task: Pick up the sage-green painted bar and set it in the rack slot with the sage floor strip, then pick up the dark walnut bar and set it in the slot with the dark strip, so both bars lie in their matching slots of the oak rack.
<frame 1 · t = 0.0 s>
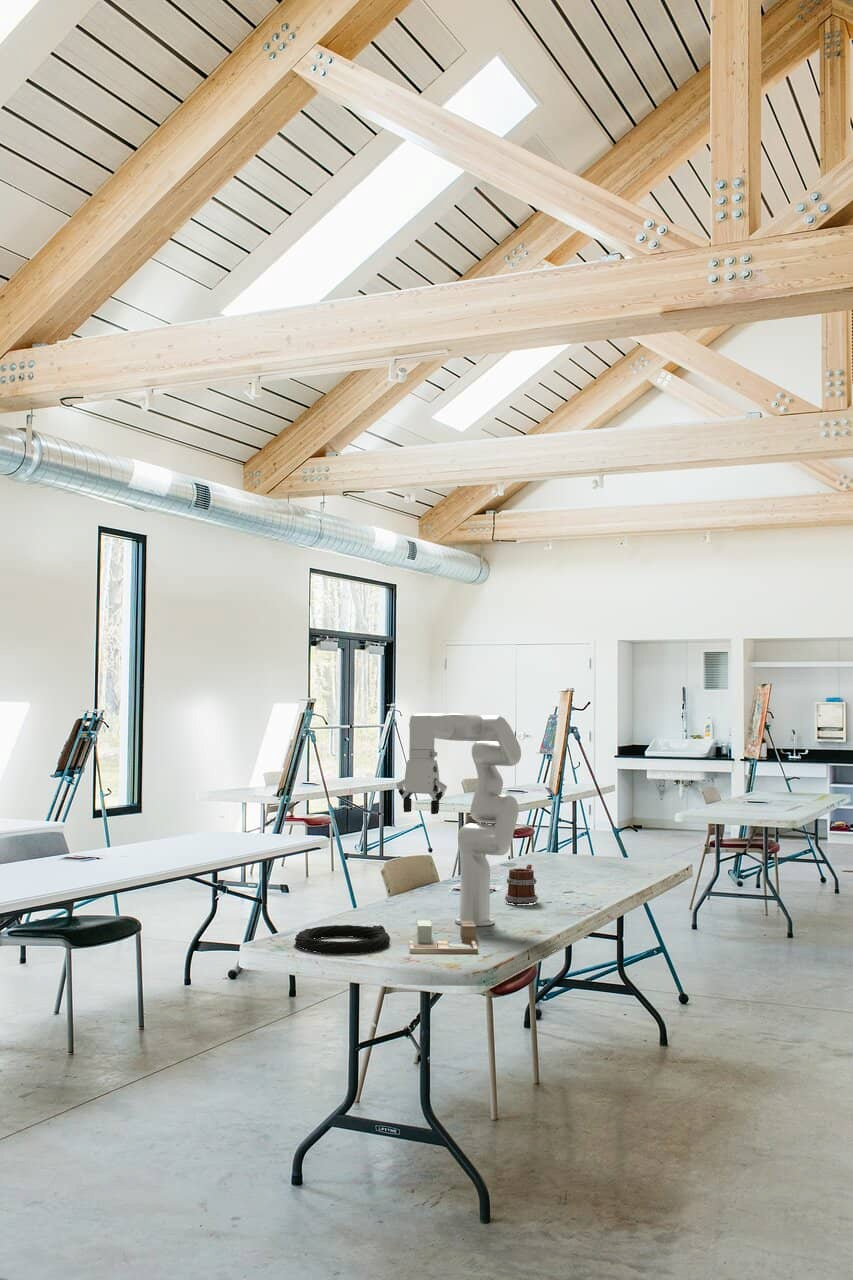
hand: (421, 812, 330), 37 cm above the table, tool pointing down, fingers open, 9 cm apart
walnut bar: (467, 940, 328), on the table
cable lock: (345, 946, 320), on the table
oak rack: (442, 948, 316), on the table
sage bar: (424, 940, 328), on the table
mug: (522, 903, 395), on the table
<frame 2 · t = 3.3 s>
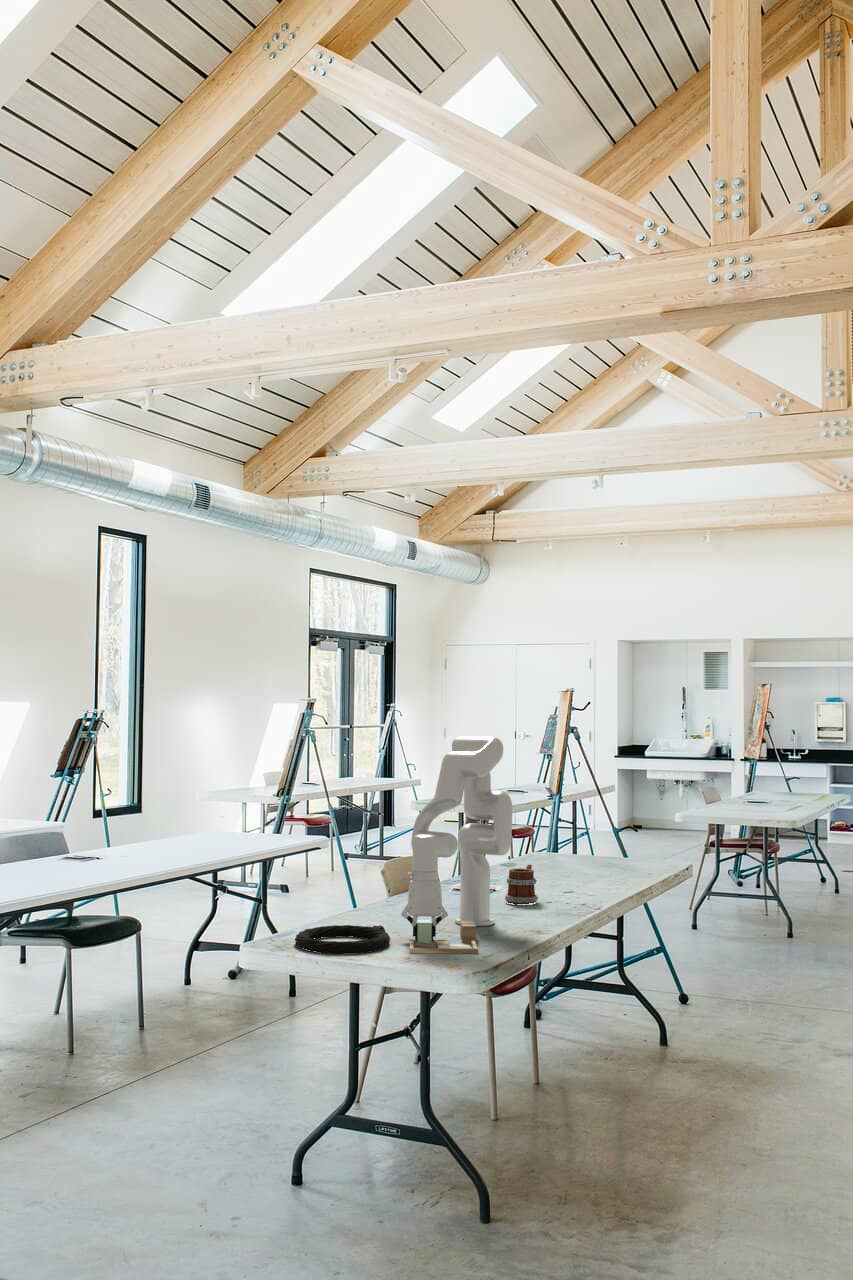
hand: (424, 938, 328), 0 cm above the table, tool pointing down, fingers closed on sage bar, 4 cm apart
sage bar: (424, 939, 328), on the table, touching gripper
everything else where it was.
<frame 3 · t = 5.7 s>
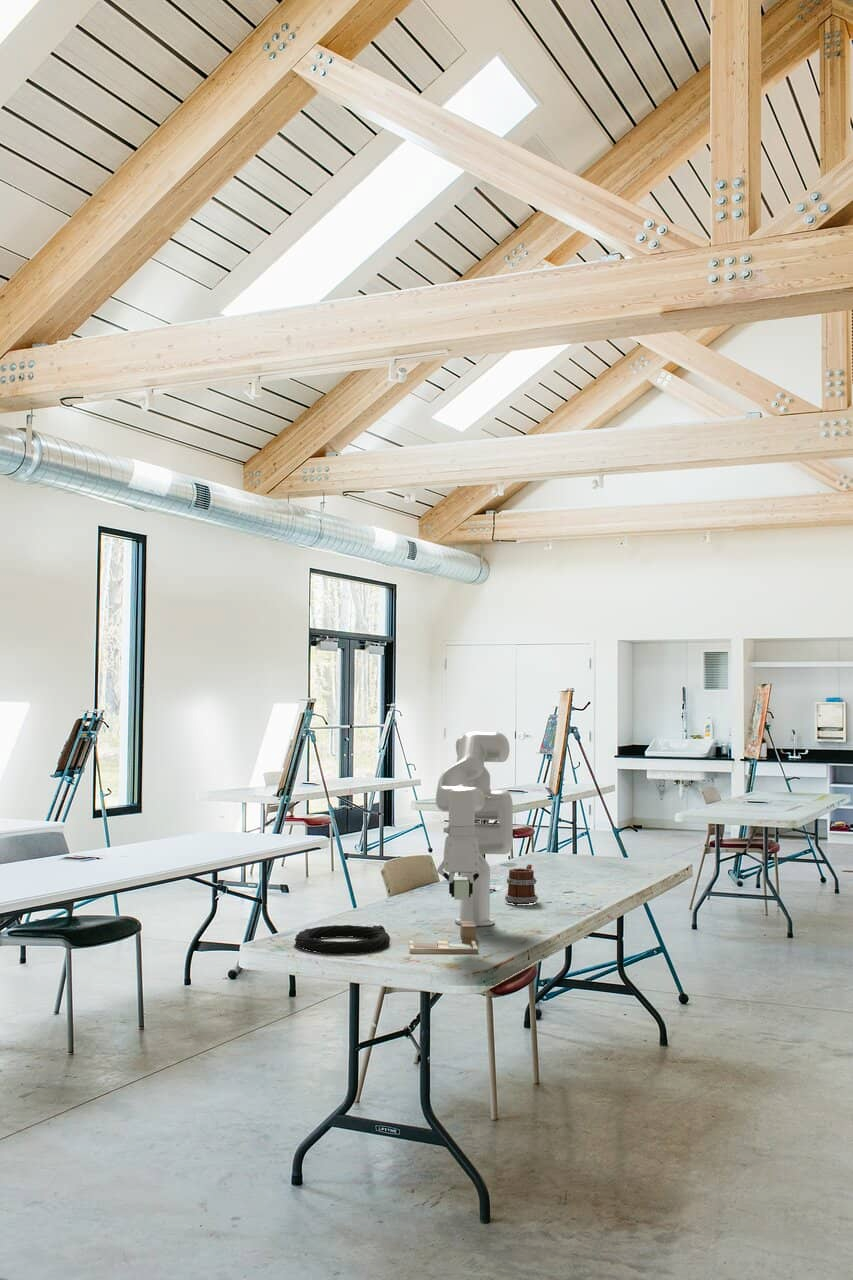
hand: (460, 895, 317), 15 cm above the table, tool pointing down, fingers closed on sage bar, 4 cm apart
sage bar: (460, 897, 317), point 14 cm above the table, touching gripper
everything else where it was.
when the fingers open (2 cm above the table, at t = 8.2 s): sage bar drops 2 cm, resting on oak rack.
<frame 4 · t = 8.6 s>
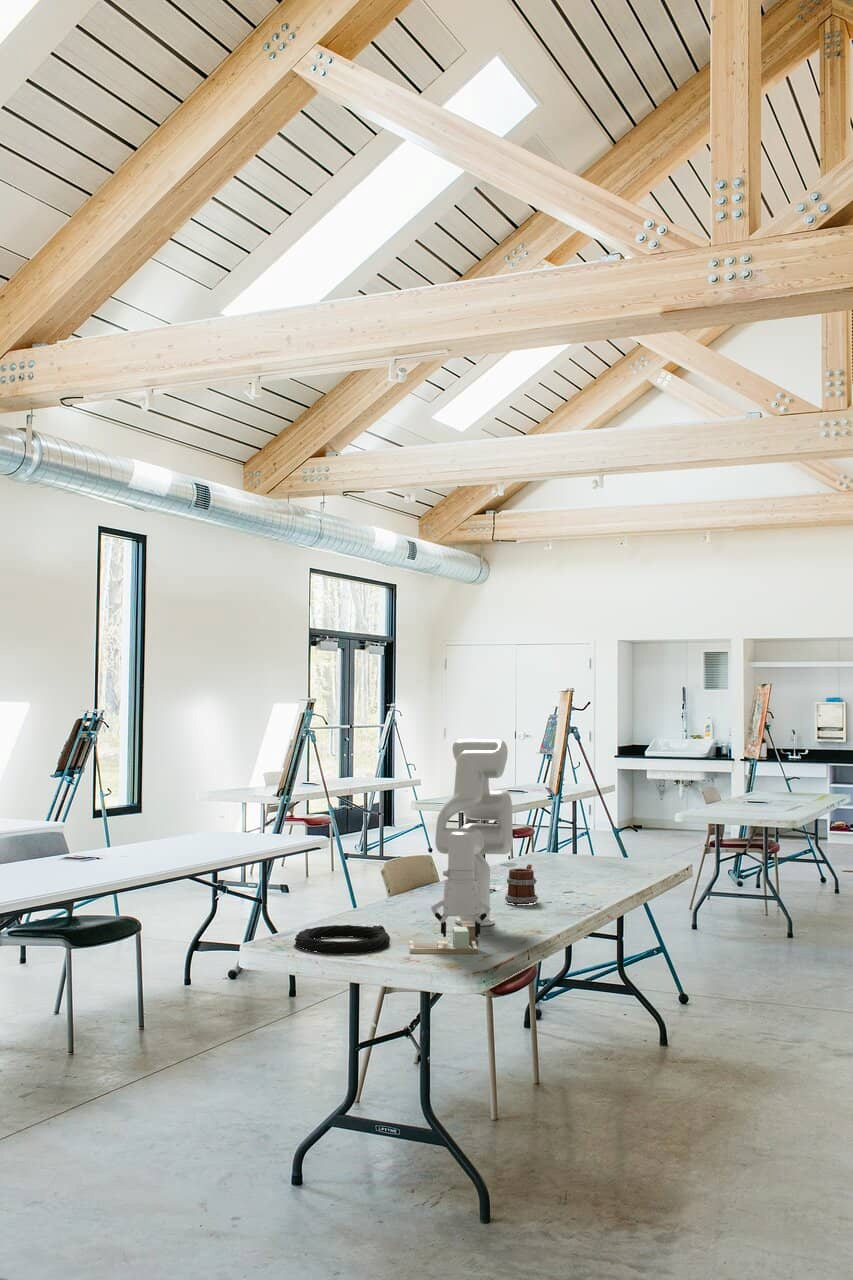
hand: (460, 936, 316), 3 cm above the table, tool pointing down, fingers open, 8 cm apart
sage bar: (460, 947, 316), resting on oak rack
everything else where it was.
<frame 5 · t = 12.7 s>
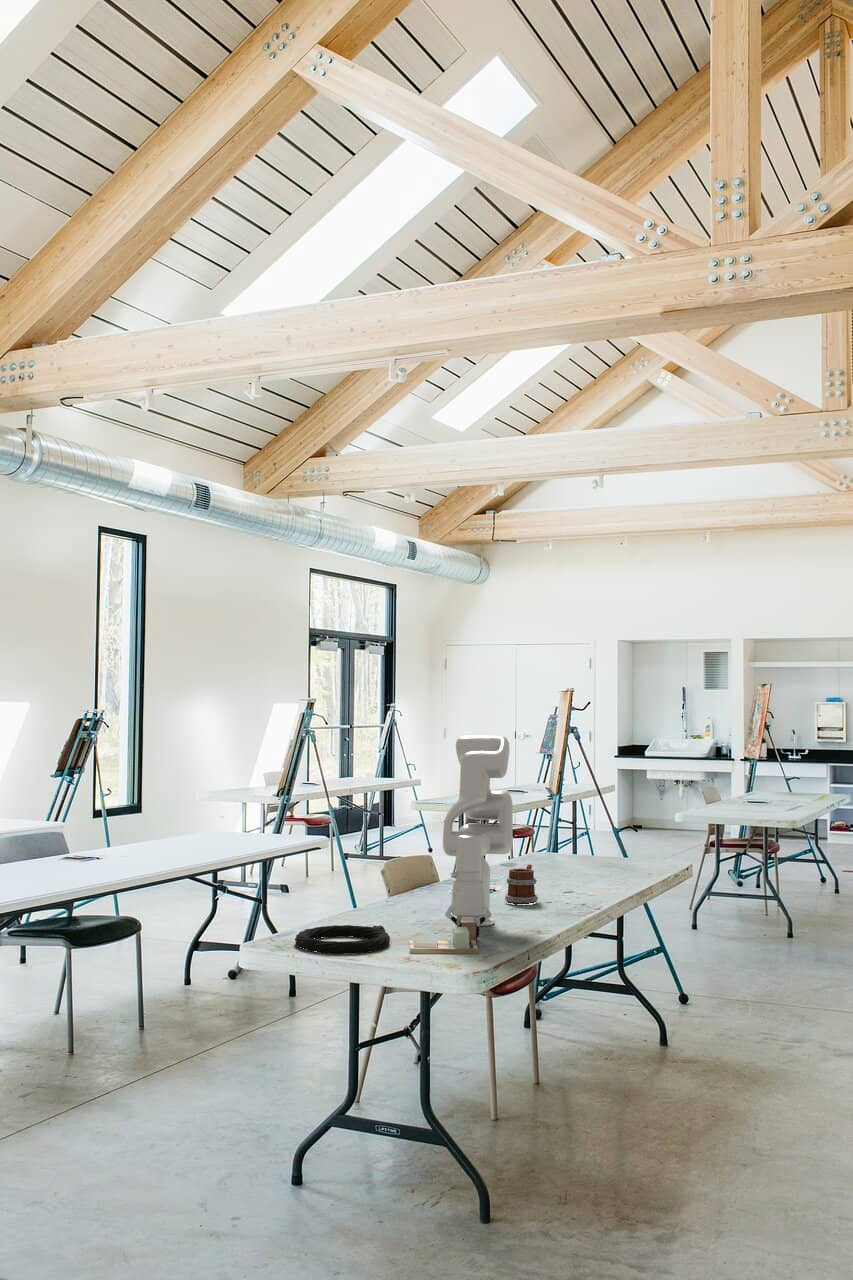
hand: (467, 938, 328), 0 cm above the table, tool pointing down, fingers closed on walnut bar, 3 cm apart
walnut bar: (468, 939, 327), on the table, touching gripper
everything else where it was.
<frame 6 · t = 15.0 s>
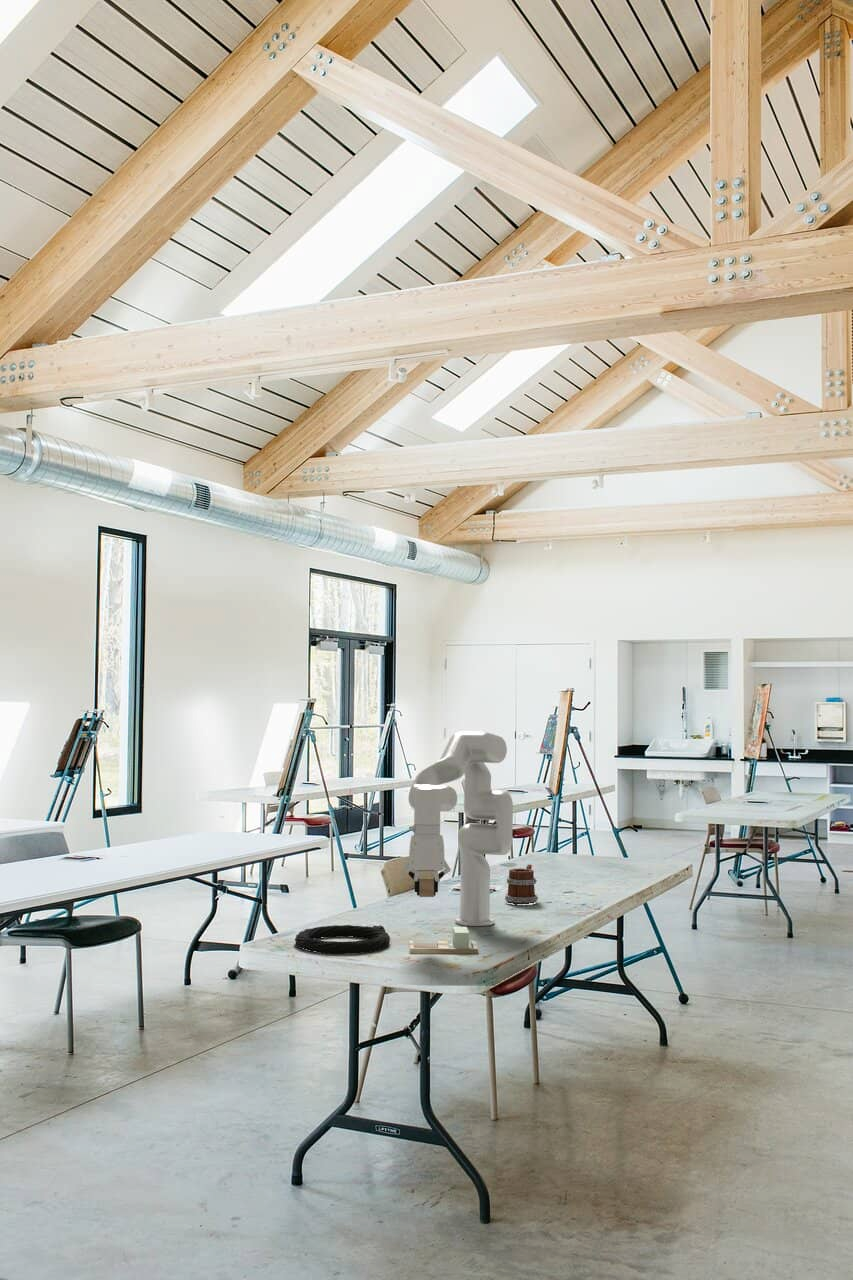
hand: (426, 894, 317), 15 cm above the table, tool pointing down, fingers closed on walnut bar, 4 cm apart
walnut bar: (426, 896, 316), point 15 cm above the table, tilted 7°, touching gripper
everything else where it was.
when the fingers open (2 cm above the table, at t = 17.6 s): walnut bar drops 2 cm, resting on oak rack.
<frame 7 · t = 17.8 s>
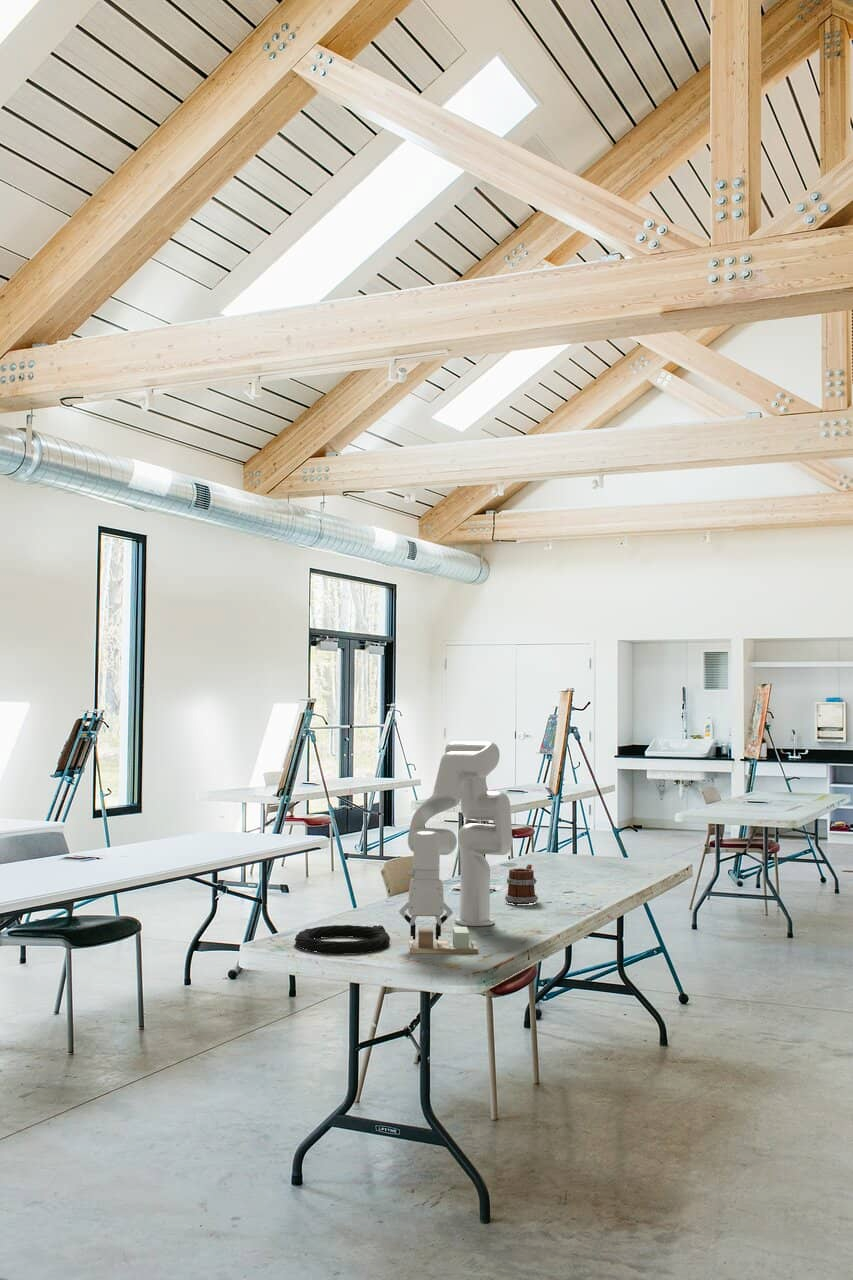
hand: (425, 938, 316), 3 cm above the table, tool pointing down, fingers open, 6 cm apart
walnut bar: (425, 948, 315), resting on oak rack
everything else where it was.
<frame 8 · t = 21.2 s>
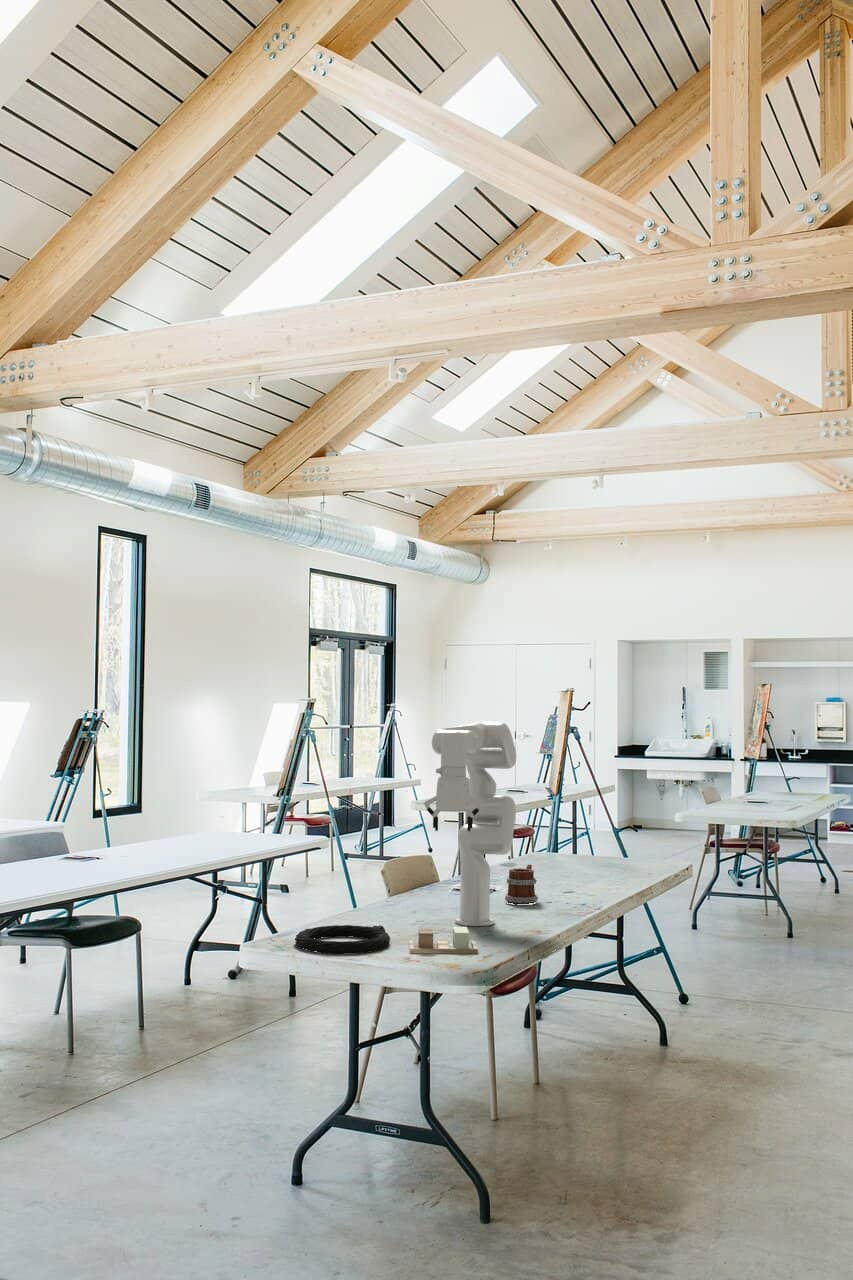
hand: (452, 830, 328), 32 cm above the table, tool pointing down, fingers open, 9 cm apart
nothing on the table moved.
at the end: walnut bar inside the target area on the oak rack (1.0 cm from its centre), point 0.2 cm above the oak rack's base; sage bar inside the target area on the oak rack (0.1 cm from its centre), point 0.2 cm above the oak rack's base; walnut bar tilted 0° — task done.
